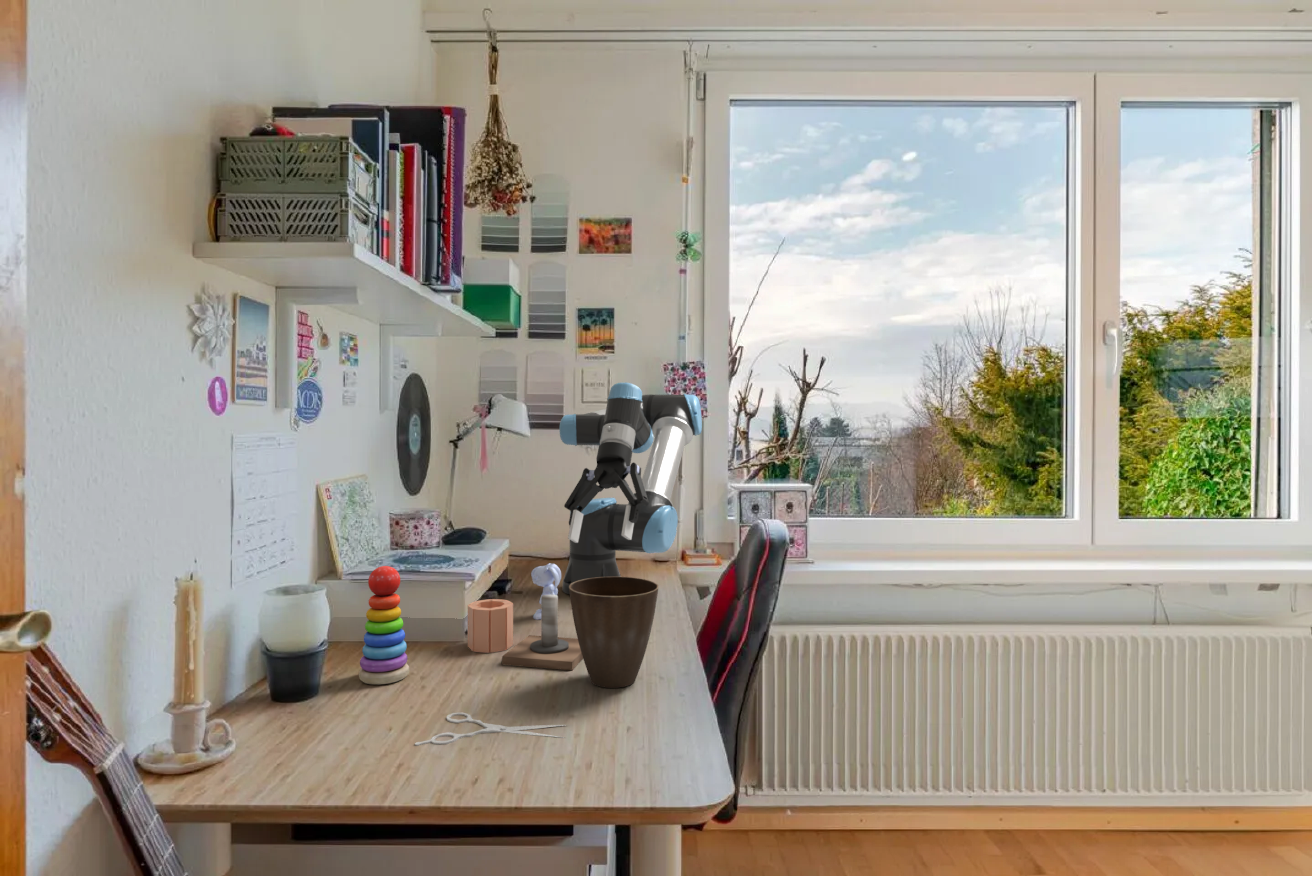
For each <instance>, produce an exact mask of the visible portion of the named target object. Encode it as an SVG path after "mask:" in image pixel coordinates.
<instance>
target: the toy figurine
mask: <svg viewBox="0 0 1312 876" xmlns="http://www.w3.org/2000/svg"><path fill="white" fill-rule="evenodd" d="M530 575H531V580H532V583H533V584H534V585H536V586H539V587H543V588H542V593H541V595H540V598H539V602H538V603H539V604H540V605H541V597H542V596H543V595H550V594H552V595H557V596H558V594H559V593H558V592H559V590H558V586H559V585H560V582H561V580H562V571H561V569H560V567H559V566H558V565H557V564H555V563H550V562H549V563H547V564H546V565H539V566H536V567H534V568H533V569H532V570H531V573H530ZM532 618H533V619H534V620H541V608H538V609H536V611H535V613H534V614H533V617H532Z"/></svg>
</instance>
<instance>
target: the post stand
mask: <svg viewBox="0 0 1312 876" xmlns="http://www.w3.org/2000/svg"><path fill="white" fill-rule="evenodd" d="M540 598H541V604H540V605H541V608H540V609H541V619H540V620H541V621H540V623H541V624H540V625H541V626H540V627H541V628H540V630H541V631H540V632H541V633H540V634H541V635H532V634H529V635H528V636H526V637H525V638H523V639H522V640H521V641H519V643H517V644H516V645H515V646H513V648H511V649H509V650H508V651H507V652H506V653H504V654H503V655H502V656H501V664H502V665H503V666H511V667H512V666H514V667H515V666H516V667H528V668H539V669H549V670H552V669H553V670H564V671H573V670H574V669H576V667H577V666H578V665H579V664H580V662H582V661H583V660H584V659H583V656H582V653H581V649H580V646H579V642H578V638H576V637H575V638H574V637H573V638H572V637H562V636H559V629H558V628H559V596H558V594H557V595H552V594H550V595H543V596H542V597H541V596H540Z"/></svg>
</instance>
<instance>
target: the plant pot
mask: <svg viewBox="0 0 1312 876" xmlns="http://www.w3.org/2000/svg"><path fill="white" fill-rule="evenodd" d="M569 592H570V594H569V598H570V604H571V605H570V606H571V611H572V612H571V613H572V618H573V623H574V628H575V633H576V637H577V639H578V642H579V646H580V649H581V653H582V656H583V659H582V660H583V662H584V666H585V668H586V671H587V673H588V676H589V679H590V681H591V683H592V684H594V686H597V687H601V688H607V689H608V688H610V689H615V688H616V689H619V688H624V687H628V686H630V685H633V684H634V683H635V682H636V679H637V677H638V674H639V672H640V668H641V666H642V664H643V660H644V657H645V655H646V651H647V647H648V644H649V641H650V640H649V639H650V636H651V633H652V627H653V623H654V618H655V613H656V607H657V600H658V594H659V584H657V583H656V582H655V581H652V580H649V579H645V578H639V577H631V576H621V577H595V578H588V579H582V580H578V581H576V582H573V583H571V584H570V585H569Z"/></svg>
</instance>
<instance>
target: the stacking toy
mask: <svg viewBox="0 0 1312 876" xmlns="http://www.w3.org/2000/svg"><path fill="white" fill-rule="evenodd" d="M367 582H368V587H369V589H370V591H371V592H372V593H373V595H371V596H370V597H369V599H368V606H369V607H370V608H369V609H367V611H366V612H365V616H366V619H367V621H366V622H365V625H364V628H365V630H366V633H364V636H363V643H364V646H362V655H363V656H361V658H360V660H359V667H360V670H359V672H358V678H359V680H360V681H361V682H363V683H364V684H367V685H386V684H387V685H388V684H392V683H397V682H399V681H401V680H403V679H405V678H406V677H408V675H409V674H410V666H409V664H408V663H407V662H408V655H407V654H406V651H407V647H408V646H407V645H408V644H407V642H406V641H405V638H406V633H405V630H404V629H402V628H403V627H404V621H403V618H402V617H401V615H402V609H401V607H399V605H400V603H401V597H400V595H399V594H397V593H395V592H396V591H398V588H399V587H400V584H401V576H400V573H399V571H397V569H396V568H394V567H393V566H388V565H382V566H379V567H377V568H375V569H373V570H372V572H371V573H370V574H369V576H368V581H367Z"/></svg>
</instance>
